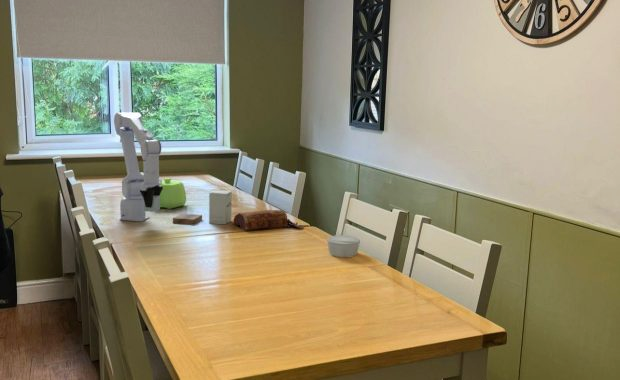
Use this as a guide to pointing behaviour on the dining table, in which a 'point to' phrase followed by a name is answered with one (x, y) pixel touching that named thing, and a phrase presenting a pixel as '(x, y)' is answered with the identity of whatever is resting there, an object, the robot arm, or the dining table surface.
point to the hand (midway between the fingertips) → (151, 206)
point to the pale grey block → (153, 205)
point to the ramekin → (343, 245)
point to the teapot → (172, 194)
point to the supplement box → (220, 207)
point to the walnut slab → (187, 219)
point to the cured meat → (263, 219)
